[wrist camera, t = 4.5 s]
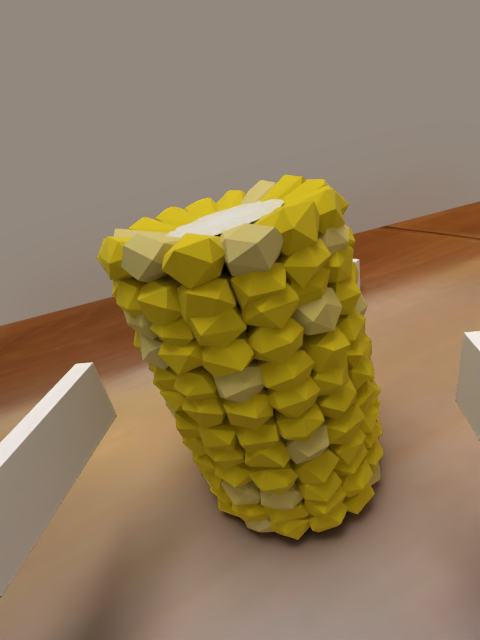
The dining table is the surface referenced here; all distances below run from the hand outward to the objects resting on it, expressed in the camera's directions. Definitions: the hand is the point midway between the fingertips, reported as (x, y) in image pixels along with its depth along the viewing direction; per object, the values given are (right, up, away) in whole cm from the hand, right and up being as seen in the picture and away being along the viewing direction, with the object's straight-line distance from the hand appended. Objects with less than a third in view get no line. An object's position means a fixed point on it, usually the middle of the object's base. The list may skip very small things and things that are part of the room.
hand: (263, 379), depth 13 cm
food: (+1, -6, +6) cm, 9 cm away
